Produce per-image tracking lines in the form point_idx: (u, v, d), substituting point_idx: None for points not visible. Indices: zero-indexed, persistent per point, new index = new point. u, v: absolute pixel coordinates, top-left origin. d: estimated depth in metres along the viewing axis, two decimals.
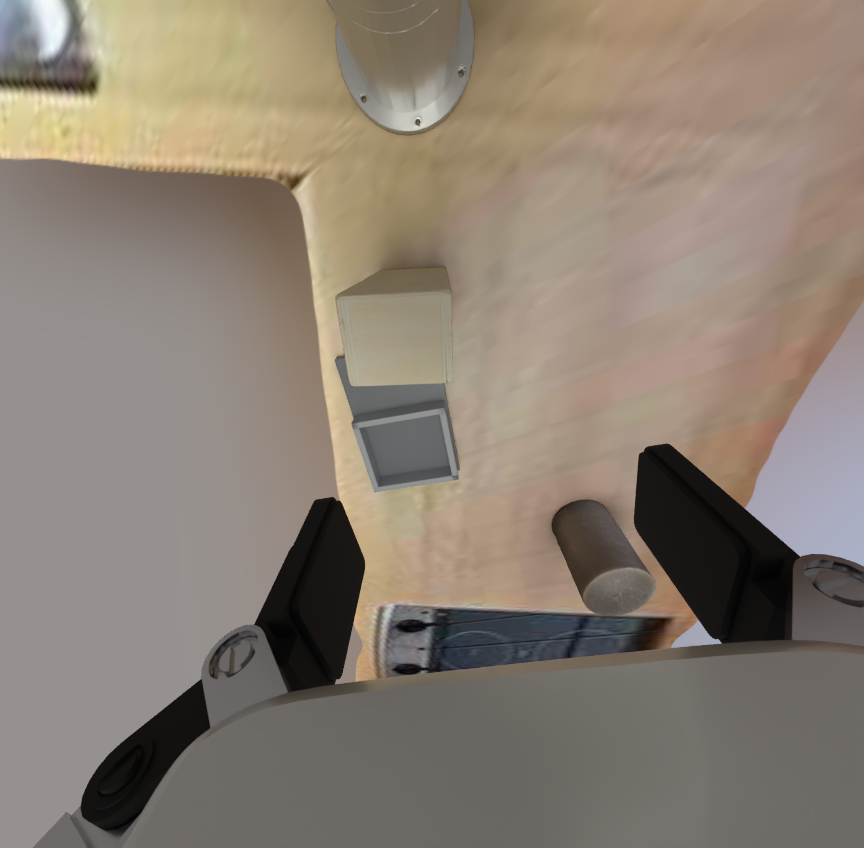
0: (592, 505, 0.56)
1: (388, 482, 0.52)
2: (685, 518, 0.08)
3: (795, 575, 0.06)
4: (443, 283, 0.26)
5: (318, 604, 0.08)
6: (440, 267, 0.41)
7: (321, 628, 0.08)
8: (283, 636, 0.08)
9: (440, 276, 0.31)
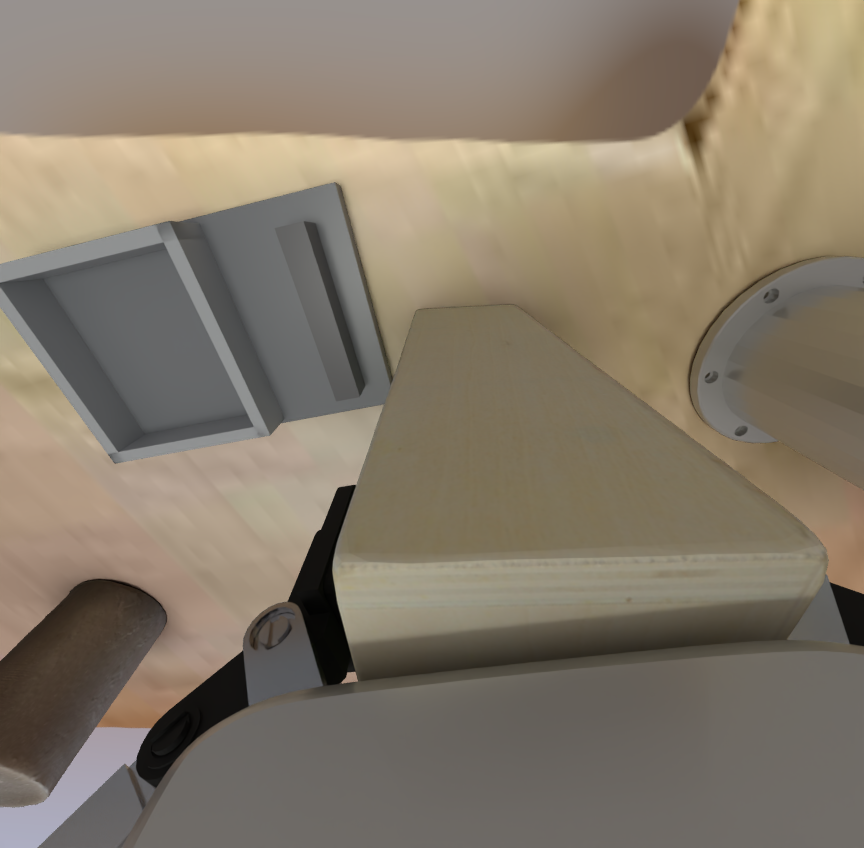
0: (156, 625, 0.37)
1: (29, 307, 0.20)
2: None
3: None
4: None
5: None
6: None
7: None
8: (317, 613, 0.08)
9: None
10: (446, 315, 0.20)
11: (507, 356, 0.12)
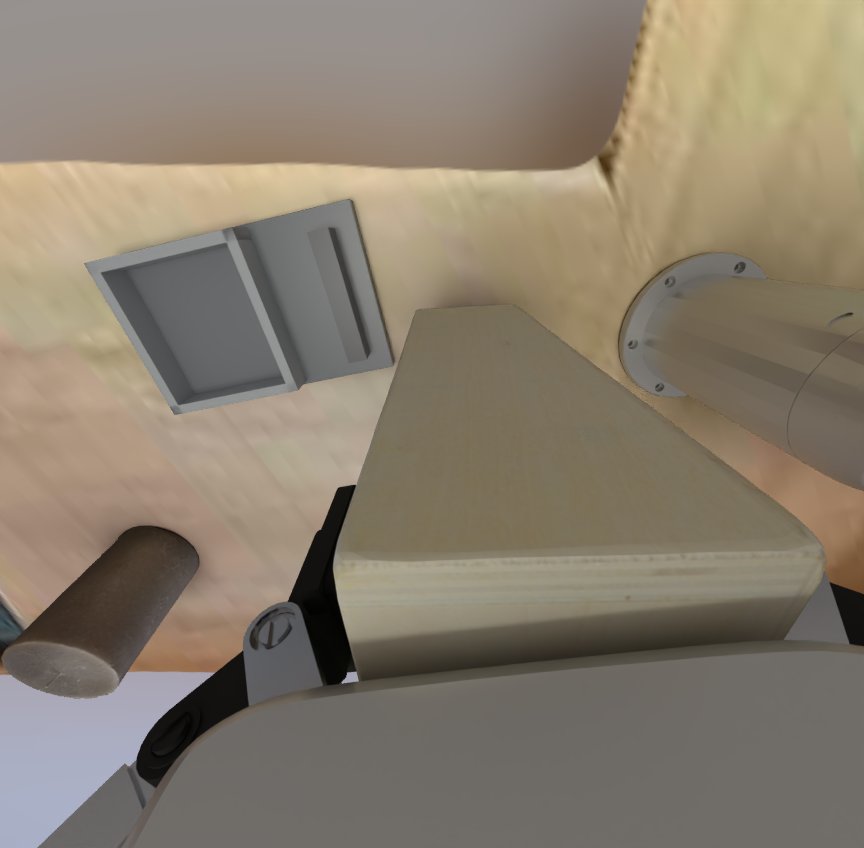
0: (192, 565, 0.43)
1: (119, 291, 0.27)
2: None
3: None
4: None
5: None
6: None
7: None
8: (317, 613, 0.08)
9: None
10: (446, 315, 0.20)
11: (507, 356, 0.12)
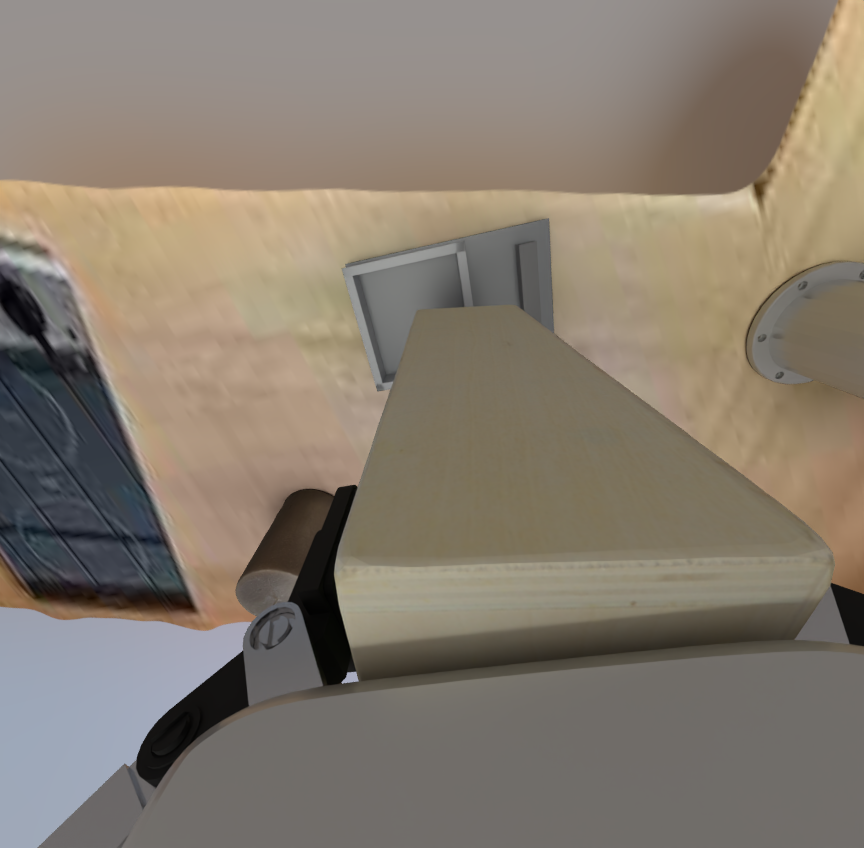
0: None
1: (358, 290, 0.35)
2: None
3: None
4: None
5: None
6: None
7: None
8: (317, 613, 0.08)
9: None
10: (446, 315, 0.20)
11: (508, 357, 0.12)
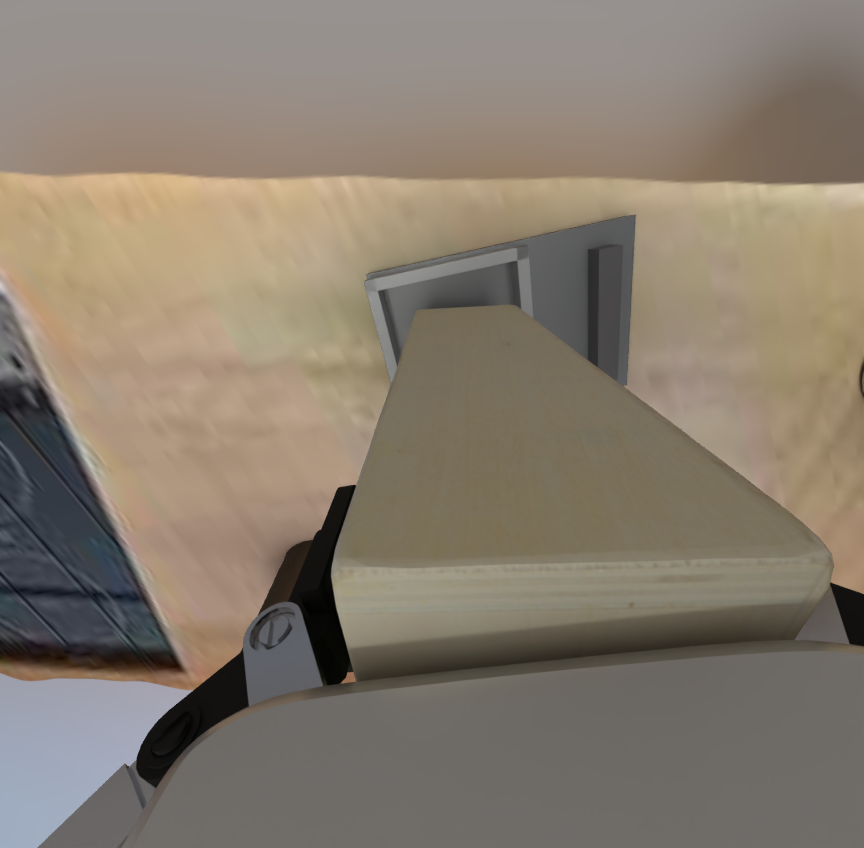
0: None
1: (383, 309, 0.27)
2: None
3: None
4: None
5: None
6: None
7: None
8: (317, 613, 0.08)
9: None
10: (446, 315, 0.20)
11: (507, 357, 0.12)
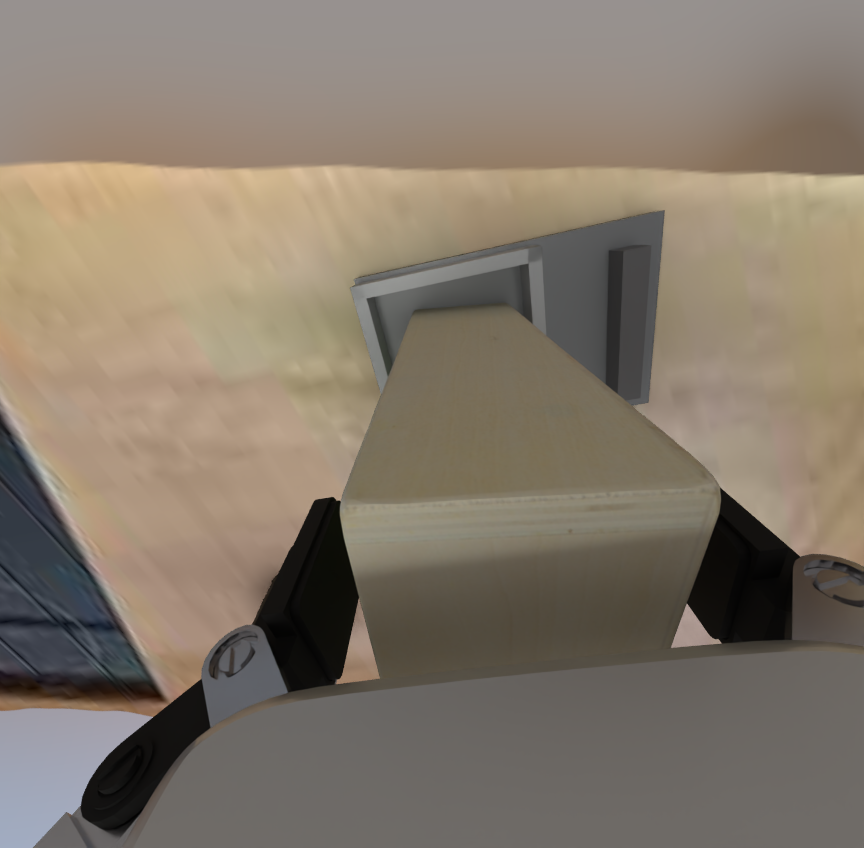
0: None
1: (374, 319, 0.23)
2: None
3: (794, 575, 0.06)
4: None
5: (318, 604, 0.08)
6: None
7: (321, 628, 0.08)
8: (283, 636, 0.08)
9: None
10: (441, 314, 0.22)
11: (492, 349, 0.14)
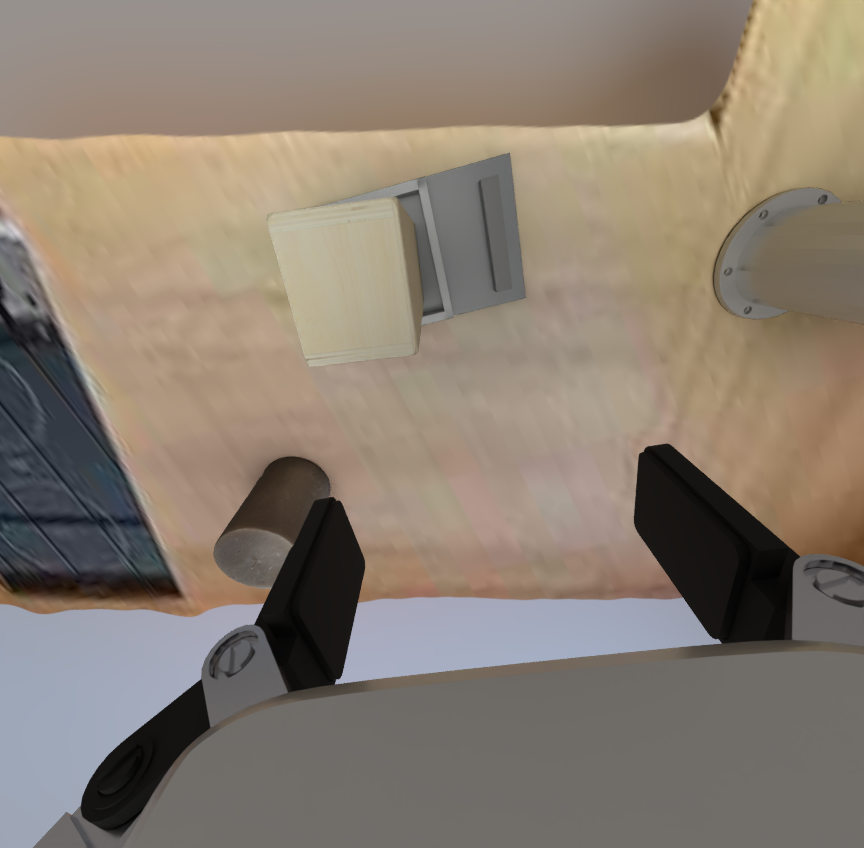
0: (327, 491, 0.50)
1: None
2: (685, 518, 0.08)
3: (795, 575, 0.06)
4: (419, 332, 0.23)
5: (318, 604, 0.08)
6: None
7: (321, 628, 0.08)
8: (283, 636, 0.08)
9: None
10: None
11: None
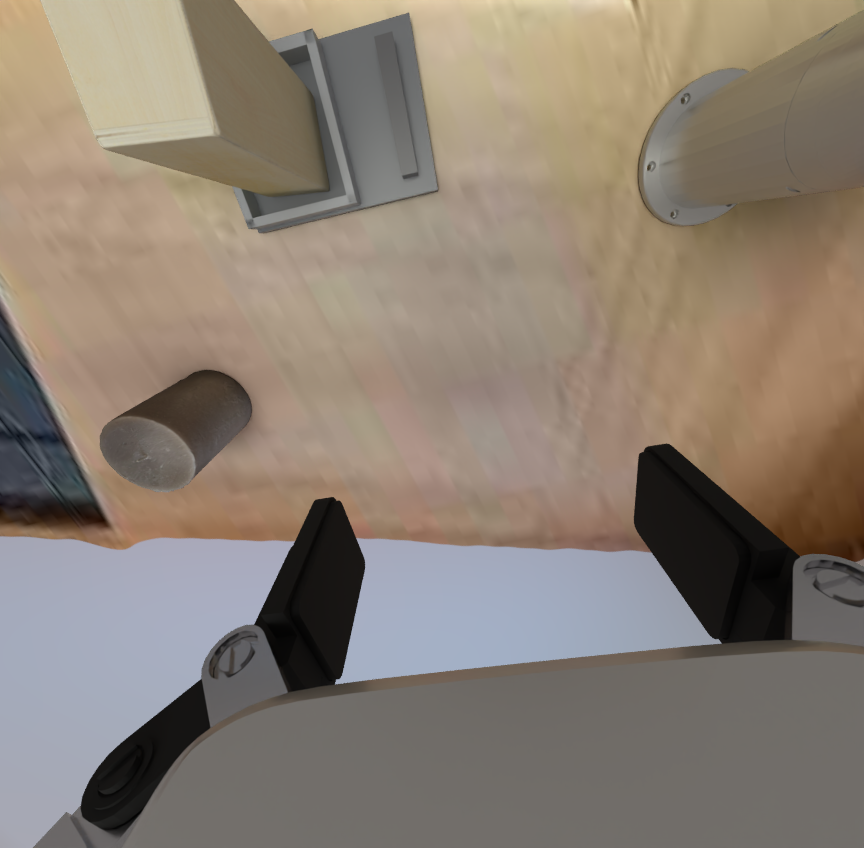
0: (247, 409, 0.48)
1: None
2: (685, 518, 0.08)
3: (794, 575, 0.06)
4: (250, 142, 0.21)
5: (318, 604, 0.08)
6: (327, 182, 0.36)
7: (321, 628, 0.08)
8: (283, 636, 0.08)
9: (285, 158, 0.26)
10: None
11: None
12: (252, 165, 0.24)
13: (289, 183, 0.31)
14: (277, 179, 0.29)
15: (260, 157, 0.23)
